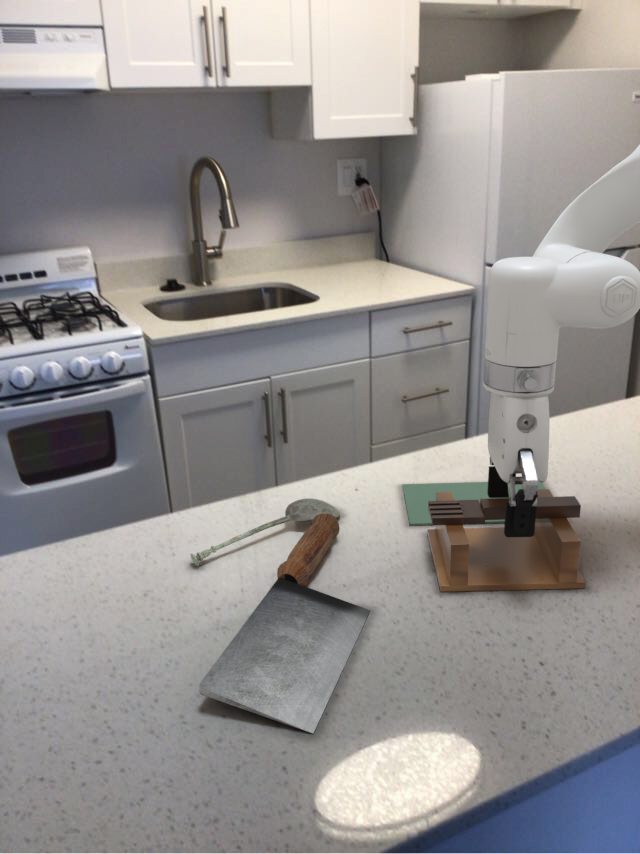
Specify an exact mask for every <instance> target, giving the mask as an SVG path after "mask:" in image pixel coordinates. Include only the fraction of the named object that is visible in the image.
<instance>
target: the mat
mask: <svg viewBox="0 0 640 854" xmlns="http://www.w3.org/2000/svg"><path fill="white" fill-rule="evenodd" d="M401 487H402V492H403V497H404V502H405V508H406V512H407V517H408V518H407V519H408V524H409V526H433V525H432V520H431V518H430V514H429V510H428V501H436V492H452V494H453V497H454V500H479V502H480V499H491V498H490V497H489V496H488V494H487V491H488V481H473V482H469V481H468V482H440V483H439V482H438V483H402V484H401ZM519 489H523V488H522V484H515V491H516V494H517V492H518V490H519ZM537 489H546V487H545V485H544V483H541V482H540V481H538V488H537ZM485 524H486V525H487V524H488V525H489V524H505V520H485ZM485 524H484V525H485Z"/></svg>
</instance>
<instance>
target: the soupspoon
mask: <svg viewBox="0 0 640 854" xmlns="http://www.w3.org/2000/svg"><path fill="white" fill-rule="evenodd" d="M284 512H285V513H284V515H285V516H282V517H280V518H277V519H274V520H271V521H269V522H266V523H264V524H261V525H259V526H256V527H255V528H252V529H250V530H247V531H246V532H243V533H241V534H239V535H236V536H234V537H232V538H230V539H228V540H226V541H223V542H221V543H219V544H217V545H215V546H214V545H211V546H210V548H208V549H207V548H206V549H203V550H202V551H200V552H196V555H195V554H194V553H193V552H192V553H191V552H190V559H191V561H192V562H193V564H194V565H195V566H196V567H199V565H200V562H203V561H204V559H206V558H207V557H209V556H211V554H212V553H214V554H215V553H217V551H219V550H221V549H223V548H225V547H228V546H230V545H232V544H235V543H237V542H240V541H242V540H244V539H246V538H249V537H251V536H254V535H256V534H258V533H260V532H263V531H265V530H268V529H270V528H273V527H275V526H279V525H282V524H286V523H289V522H305V521H313V519H314V517H316V516H317V515H319V514H331V515H333V516H334V517H336V519H337V518H339V517H340V516H341V513H340V511H339V510H338V509H337V508H335V507H334V506H333V505H331V504H330V503H329V502H327V501H324V500H321V499H318V498H311V497H310V498H300V499H297V500H295V501H293V502H291V503H289V504H288V505H287V507H286V508H285V510H284Z"/></svg>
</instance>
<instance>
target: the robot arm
mask: <svg viewBox="0 0 640 854" xmlns="http://www.w3.org/2000/svg"><path fill="white" fill-rule="evenodd" d="M639 223H640V143H639V144H638V145H637V147H636V148H635V149H634V150H633V151H632V152H631V154H629V155H628V156H627V157H626V158H624V159H623V160H622V161H620V162H619V163H617V164H616V165H614V166H613V167H612V168H611V169H609V170H608V171H607V172H606V173H604V174H603V175H602V176H601V177H600V178H598V179H597V180H595V181H594V183H592V184H591V185H590V186H588V187H587V188H586V189H585V190H584V191H582V192H581V193H580V194H578V196H577V197H576V198H574V199H573V201H571V202H570V203H569V205H567V206H566V208H565V209H564V210H563V211H562V212H561V214H560V215H559V216H558V217H557V219H556V220H555V222H554V223H553V224H552V226H551V227H550V229H549V230H548V231H547V233H546V234H545V236H544V237H543V239H542V240H541V241H540V243H539V244H538V246H537V248H536V249H535V251H534V253H533V254H532V256H513V257H505V258H501V259H499V260H497V261H496V262H494V263H493V265H492V266H491V268H490V270H489V273H488V274H489V275H488V287H487V304H486V320H485V321H486V324H485V325H486V326H485V340H484V341H485V344H484V361H483V381H482V382H483V383H482V387H483V389H484V390H486V391H487V392H489V394H490V401H489V409H488V411H489V412H488V423H487V424H488V426H487V427H488V428H487V450H488V454H489V464H490V466H488V473H487V475H488V476H487V482H488V491H487V494H488V496H489V497H490V498H509V503H506V511H505V523H504V534H505V536H506V537H532V536H534V532H535V520H536V508H537V497H538V494H537V493H538V492H536V491H537V488H538V481H540V482H541V483H542V484H544V483H545V482H547V479H548V477H549V476H548V474H549V454H550V453H549V452H550V401H549V395H550V394H552V393H553V392H554V390H555V384H556V383H555V382H556V371H557V360H558V359H557V358H558V349H559V337H560V329H561V328H581V329H593V330H595V329H598V330H599V329H601V330H603V329H609V328H614V327H618V326H620V325H622V324H624V323H626V322H628V321H630V320H631V319H632V318H633V317H634V316H635V315H636V314H637V313H638V312H639V310H640V270H639V269H638V267H636V266H635V265H634V264H633V263H631V262H630V261H628V260H626V259H624V258H621V257H618V256H616V255H612V254H607V253H604V252H605V251H606V249H607V248H609V246H610V245H611V244H612V243H613V242H614V241H615V240H617V239H618V238H619V237H620V236H621V235H623V234H624V233H625V232H627V231H628V230H630V229H631V228H633V227H634V226H636V225H638V224H639ZM517 474H518V475H519V474H520V475H521V476H517ZM515 484H522V488H523V489H519V490H518V492H517V494H516V491H515Z"/></svg>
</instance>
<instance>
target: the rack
mask: <svg viewBox="0 0 640 854" xmlns="http://www.w3.org/2000/svg"><path fill="white" fill-rule="evenodd" d="M536 492H538V493H537V494H538V497H554V495H553V494H552V492H551V490H550V489H549V488H545V489H537V491H536ZM451 500H454V497H453V494H452V492H436V501H451ZM434 526H435V528H428V529H427V532H426V533H427V538H428V543H429V547H430V551H431V552H430V553H431V555H432V560H433V565H434V568H435V574H436V577H437V582H438V586H439V590H440V592H443V593H444V592H482V591H483V592H486V591H488V592H489V591H525V590H526V591H527V590H529V591H531V590H567V589H571V590H572V589H574V590H575V589H586V582H587V581H586V580H585V579H584V577H583V575H582V573H581V571H580V569H579V562H580V552H581V543H582V542H581V539H580V538H579V537H578V535H577V533H576V531H575V529H574V528H573V527H572V525H571V523H570V521H569V519H568V518H546V519H536V520H535V532H534V536H532V537H506V536H505V534H504V527H503V526H500V527H499V526H498V527H464V525H434Z"/></svg>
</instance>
